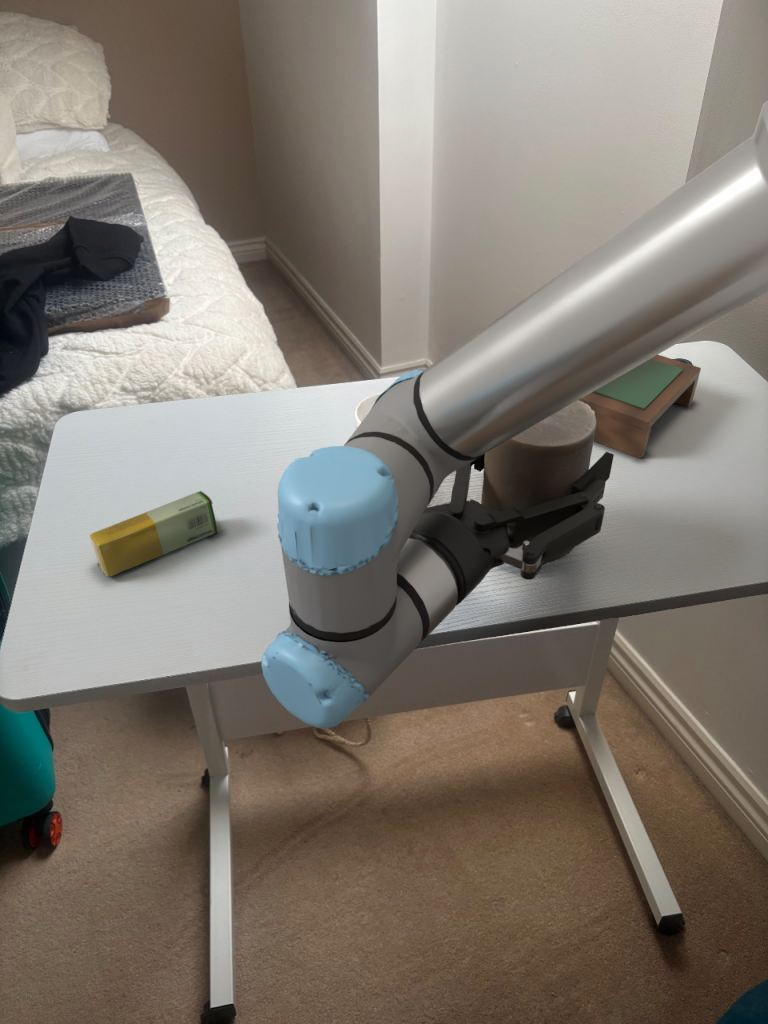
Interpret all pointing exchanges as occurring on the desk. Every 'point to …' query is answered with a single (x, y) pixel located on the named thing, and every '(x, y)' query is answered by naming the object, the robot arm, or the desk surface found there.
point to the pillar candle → (540, 462)
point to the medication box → (154, 533)
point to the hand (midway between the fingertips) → (559, 446)
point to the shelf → (640, 402)
